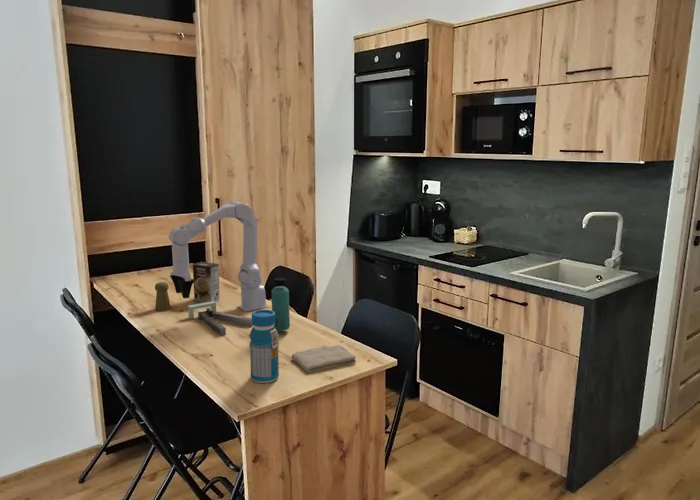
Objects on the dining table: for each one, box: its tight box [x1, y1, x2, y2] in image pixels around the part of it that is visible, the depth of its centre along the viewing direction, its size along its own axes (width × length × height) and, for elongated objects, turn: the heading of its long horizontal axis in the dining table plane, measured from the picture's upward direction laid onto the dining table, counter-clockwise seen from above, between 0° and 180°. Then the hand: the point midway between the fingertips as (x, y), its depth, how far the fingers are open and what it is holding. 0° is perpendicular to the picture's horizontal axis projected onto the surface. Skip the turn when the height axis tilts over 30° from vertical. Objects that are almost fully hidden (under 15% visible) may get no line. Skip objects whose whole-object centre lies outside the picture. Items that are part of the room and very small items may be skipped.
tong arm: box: [205, 307, 254, 328], centre depth 202 cm, size 2×21×3 cm, turn 64°
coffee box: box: [192, 261, 221, 303], centre depth 226 cm, size 9×6×16 cm
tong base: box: [197, 310, 227, 336], centre depth 198 cm, size 5×22×2 cm, turn 36°
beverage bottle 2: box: [271, 277, 291, 332], centre depth 191 cm, size 6×7×20 cm
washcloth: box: [291, 344, 357, 374], centre depth 168 cm, size 12×18×3 cm, turn 120°
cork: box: [154, 281, 172, 312], centre depth 214 cm, size 6×6×11 cm
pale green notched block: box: [187, 301, 217, 320], centre depth 207 cm, size 10×2×5 cm, turn 126°
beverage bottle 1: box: [248, 309, 280, 384], centre depth 154 cm, size 8×8×20 cm
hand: (182, 295), depth 200 cm, fingers open, 7 cm apart
